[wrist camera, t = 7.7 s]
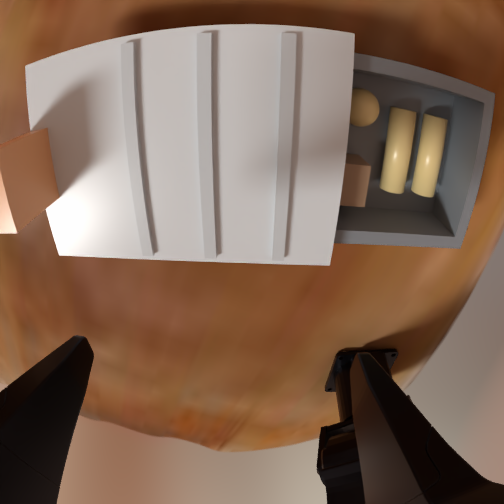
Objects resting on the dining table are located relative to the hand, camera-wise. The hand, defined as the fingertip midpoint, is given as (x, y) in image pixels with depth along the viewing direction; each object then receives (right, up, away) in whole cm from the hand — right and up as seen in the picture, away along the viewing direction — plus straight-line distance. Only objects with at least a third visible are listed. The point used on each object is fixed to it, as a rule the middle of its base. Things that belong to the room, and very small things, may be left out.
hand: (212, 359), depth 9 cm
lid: (-3, +8, +5) cm, 10 cm away
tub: (+8, +10, +8) cm, 15 cm away
